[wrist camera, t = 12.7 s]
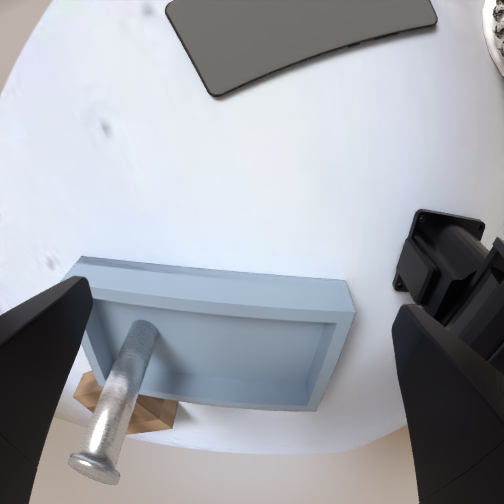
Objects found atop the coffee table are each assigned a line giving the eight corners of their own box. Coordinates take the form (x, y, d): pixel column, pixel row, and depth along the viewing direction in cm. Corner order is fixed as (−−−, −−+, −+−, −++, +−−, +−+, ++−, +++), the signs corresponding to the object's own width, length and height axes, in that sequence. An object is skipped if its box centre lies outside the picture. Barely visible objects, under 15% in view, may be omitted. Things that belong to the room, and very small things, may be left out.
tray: (345, 280, 22) (355, 312, 19) (312, 381, 28) (315, 411, 25) (81, 256, 22) (60, 281, 19) (110, 358, 28) (98, 385, 25)
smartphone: (160, 6, 13) (392, -67, 9) (165, 9, 14) (388, -62, 10) (211, 101, 16) (442, 25, 12) (214, 100, 17) (435, 26, 13)
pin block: (127, 358, 28) (116, 386, 25) (178, 402, 31) (172, 428, 28) (83, 373, 30) (72, 396, 27) (131, 411, 34) (124, 434, 31)
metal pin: (164, 322, 24) (114, 475, 12) (162, 348, 25) (120, 488, 14) (126, 311, 23) (62, 455, 12) (127, 338, 25) (73, 472, 14)
